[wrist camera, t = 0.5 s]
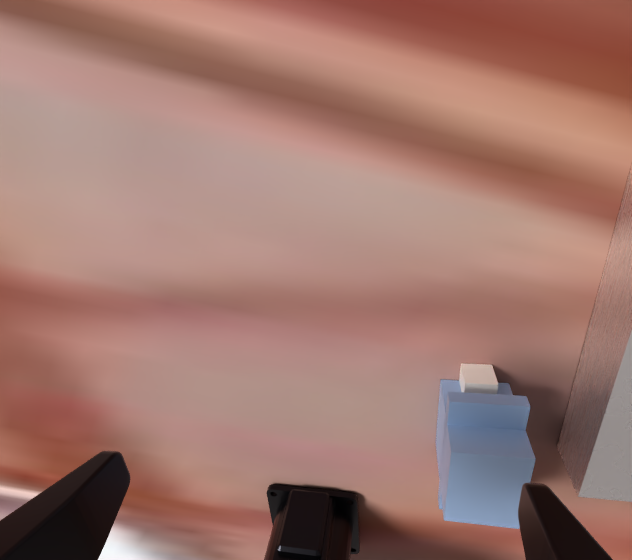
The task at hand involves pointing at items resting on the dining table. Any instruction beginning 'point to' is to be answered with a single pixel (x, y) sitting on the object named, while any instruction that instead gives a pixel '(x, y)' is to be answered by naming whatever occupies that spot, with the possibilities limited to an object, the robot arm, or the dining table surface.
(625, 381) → the mount plate
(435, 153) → the dining table surface
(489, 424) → the block
